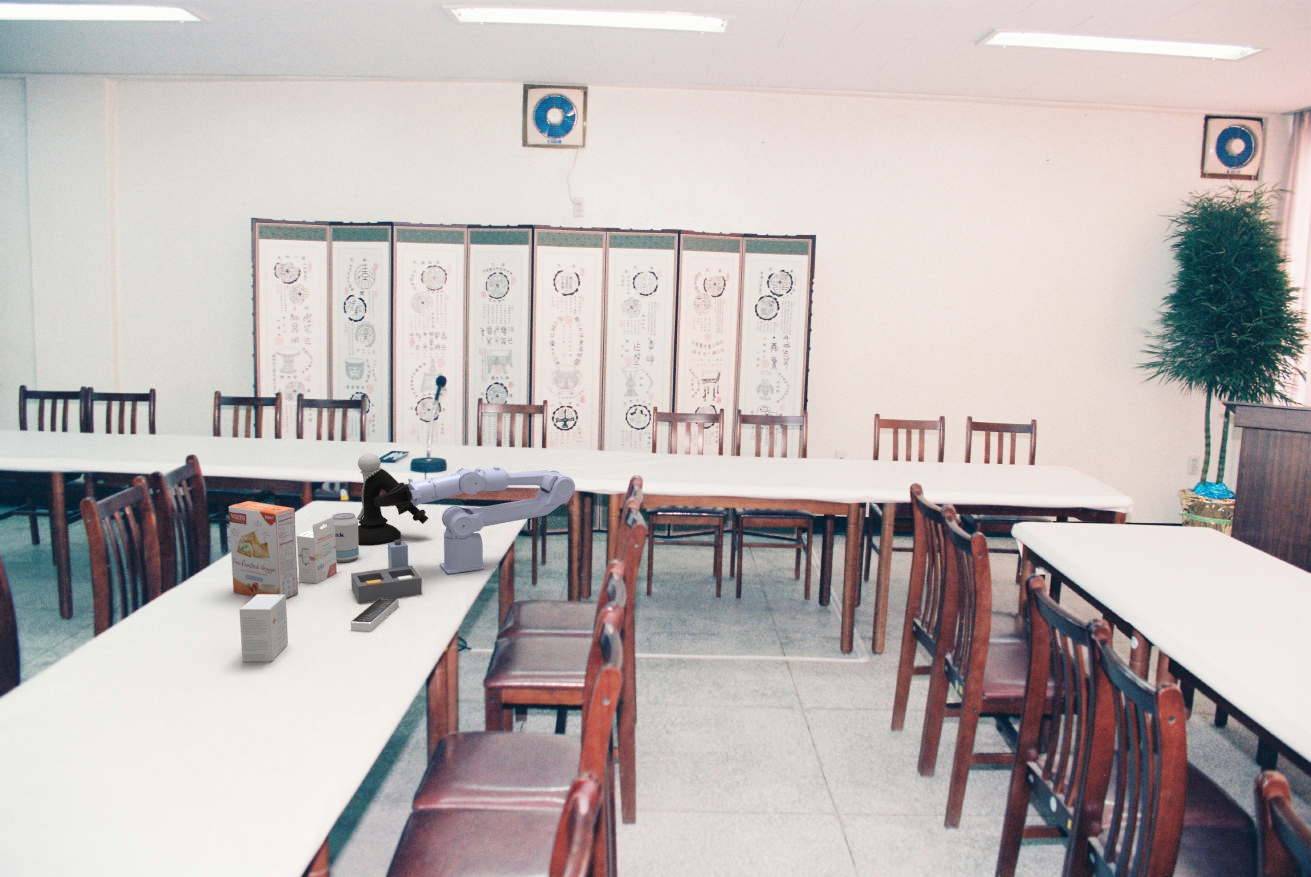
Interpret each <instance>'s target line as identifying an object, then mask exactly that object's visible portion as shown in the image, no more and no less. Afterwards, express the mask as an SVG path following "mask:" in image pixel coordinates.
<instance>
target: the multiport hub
mask: <svg viewBox="0 0 1311 877" xmlns="http://www.w3.org/2000/svg"><path fill="white" fill-rule="evenodd" d="M399 601H400V600H399V598H384V597H381V598H379V599H378V600H376V601H373V603H371V604H370V605H369V606H367V608H365V609H364V610H363V611H361V612H360V613H359V614H358V615H357V616H355V617H354V618H353V619H352V620H351V621H350V630H351V631H352V630H354V631H353V632H366V633H367V632H369V633H370V632H372V631H374V630H375V629H376V628H377V627H378V626H380V624H381V623H383V622H384V621H385V620H386V619H387V618H388V617H389V616H390V615H392V613H394V612H395V611H396V610H397V609H398V608H399V603H400V602H399Z"/></svg>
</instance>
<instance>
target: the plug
mask: <svg viewBox="0 0 1311 877" xmlns="http://www.w3.org/2000/svg"><path fill="white" fill-rule="evenodd" d="M387 556H388V557H387V558H388V559H387V560H388V561H387V563H388V564H387V567H388V568H396V567H404V566H409V546H408V544H407V543H406V542H405V541H404V540H403V541H402V540H401V539H398V540H394V542H391V543H387ZM388 568H387V569H388Z"/></svg>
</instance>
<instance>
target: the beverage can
mask: <svg viewBox="0 0 1311 877" xmlns="http://www.w3.org/2000/svg"><path fill="white" fill-rule="evenodd" d="M331 517H333V519H334V527H335V540H336V561H337V562H336V563H348V562H349V563H350V562H352V561H354V560H355V559H356V558H357V557H359V555H360V552H359V550H360V548H359V546H360V545H359V543H358V526H359V520H358V519H357V517H356V514H355V513H352V512H341V513H340V512H339V513H336V514H333V515H332V516H331Z"/></svg>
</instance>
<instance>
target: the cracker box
mask: <svg viewBox="0 0 1311 877" xmlns="http://www.w3.org/2000/svg"><path fill="white" fill-rule="evenodd" d="M228 517H229V518H228V519H229V520H228V521H229V533H230V534H229V536H230V538H229V539H230V551H231V552H230V553H231V554H230V555H231V557H230V558H231V568H232V569H231V572H232V573H231V574H232V575H231V576H232V586H233V587H232V588H233V589H232V590H233V592H234V593H237V594H241V595H246V596H251V597H255V596H256V595H257V594H281V595H286V600H287V599H290V598H291V597H294V596H296V595H299V588H298V587H299V584H298V583H299V581H298V580H299V579H298V565H297V564H298V563H297V562H298V556H297V536H296V514H295V508H294V507H290V506H289V507H287V506H281V505H275V504H269V503H264V502H263V503H262V502H257V501H250V500H248V501H244V502H240V503H235V504H232V505H229V506H228Z"/></svg>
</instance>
